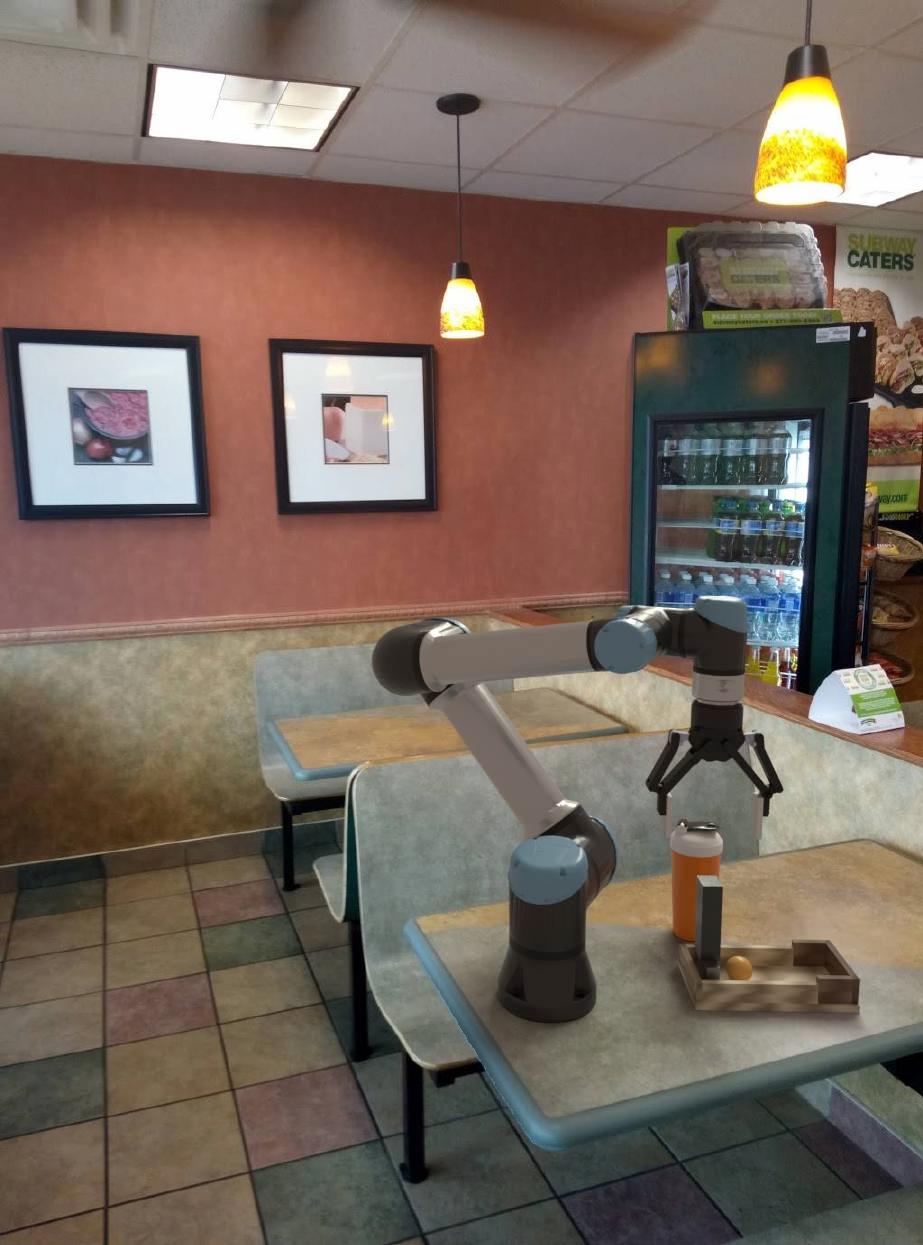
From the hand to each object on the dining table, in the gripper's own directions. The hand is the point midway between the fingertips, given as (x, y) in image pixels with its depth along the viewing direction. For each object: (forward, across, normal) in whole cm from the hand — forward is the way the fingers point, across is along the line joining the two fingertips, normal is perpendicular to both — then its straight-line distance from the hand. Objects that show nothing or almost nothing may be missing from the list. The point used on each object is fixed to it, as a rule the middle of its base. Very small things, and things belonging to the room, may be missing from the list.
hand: (711, 836), depth 137 cm
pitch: (+24, +9, 0) cm, 26 cm away
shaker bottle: (+25, +2, +18) cm, 30 cm away
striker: (+23, 0, 0) cm, 23 cm away
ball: (+22, +5, 0) cm, 22 cm away
